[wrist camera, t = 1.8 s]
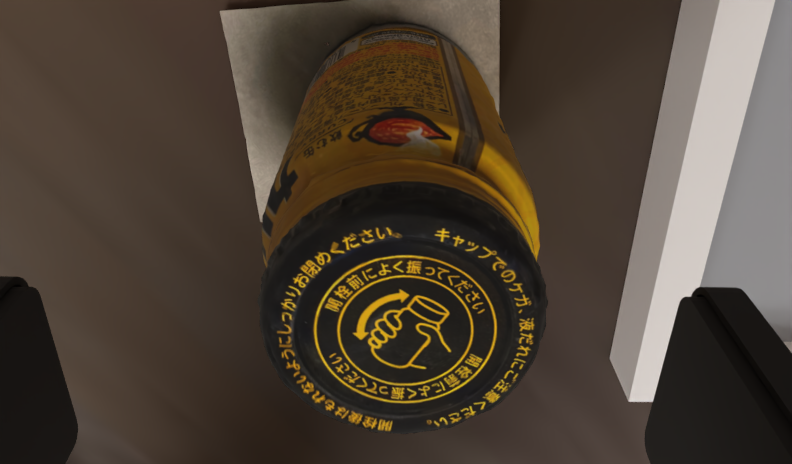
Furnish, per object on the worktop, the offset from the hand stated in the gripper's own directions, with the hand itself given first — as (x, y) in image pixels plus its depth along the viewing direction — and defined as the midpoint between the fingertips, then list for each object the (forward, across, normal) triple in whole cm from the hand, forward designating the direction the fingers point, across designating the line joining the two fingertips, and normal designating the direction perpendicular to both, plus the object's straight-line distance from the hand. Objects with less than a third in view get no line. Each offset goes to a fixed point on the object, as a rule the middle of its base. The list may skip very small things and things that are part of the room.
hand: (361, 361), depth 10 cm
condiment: (+14, 0, +1) cm, 14 cm away
